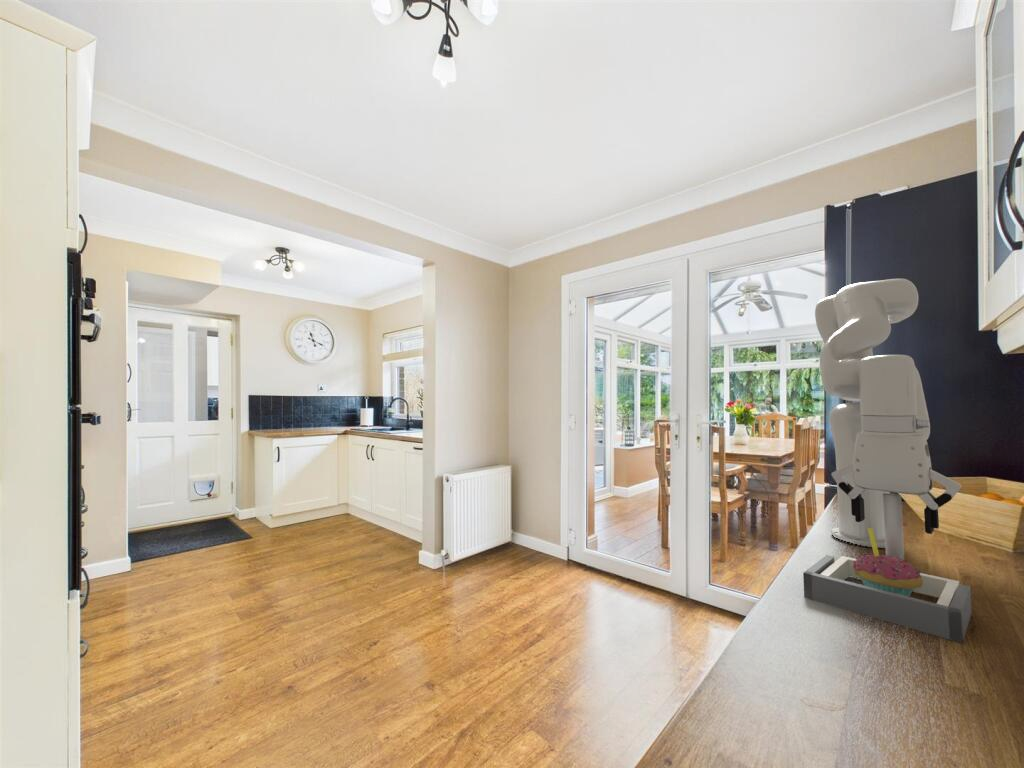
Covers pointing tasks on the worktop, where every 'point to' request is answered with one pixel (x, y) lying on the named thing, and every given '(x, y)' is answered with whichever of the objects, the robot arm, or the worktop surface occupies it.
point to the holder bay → (890, 603)
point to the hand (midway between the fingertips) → (893, 525)
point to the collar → (897, 555)
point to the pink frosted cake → (887, 571)
